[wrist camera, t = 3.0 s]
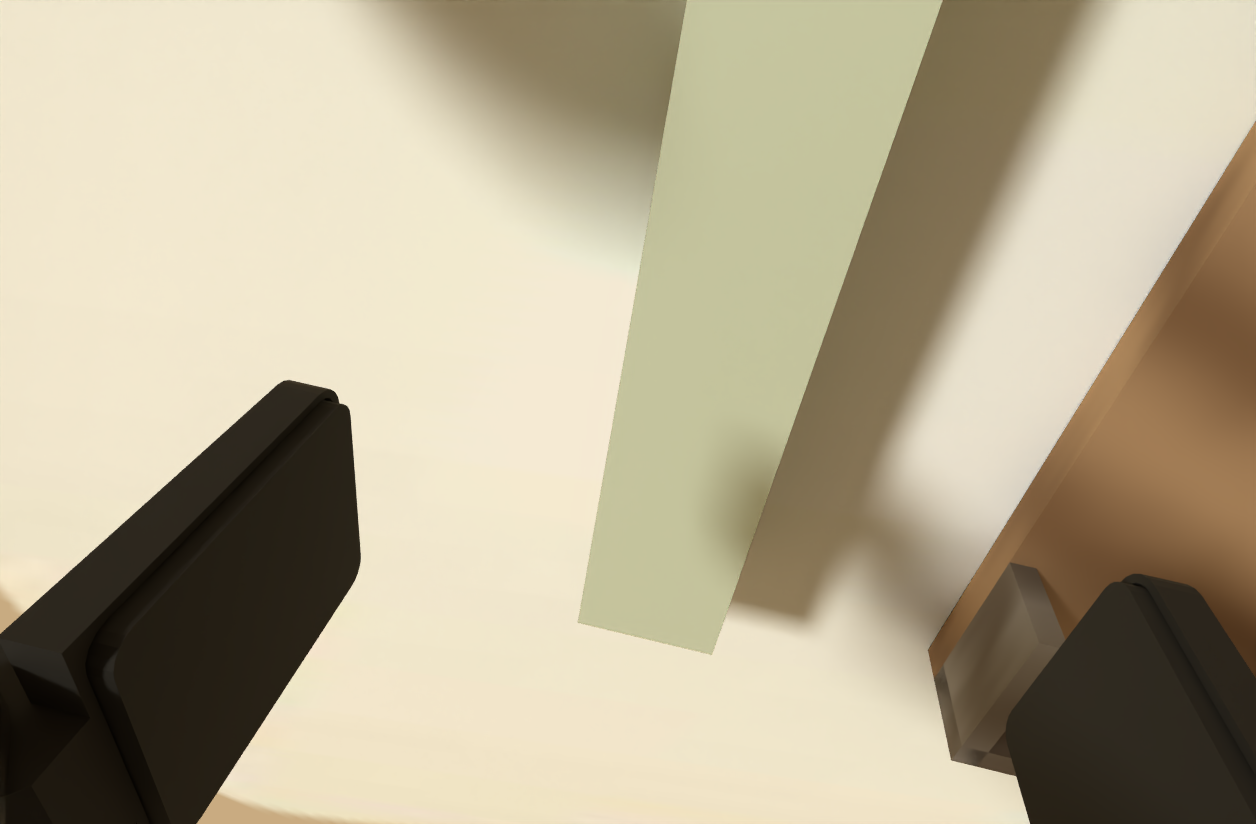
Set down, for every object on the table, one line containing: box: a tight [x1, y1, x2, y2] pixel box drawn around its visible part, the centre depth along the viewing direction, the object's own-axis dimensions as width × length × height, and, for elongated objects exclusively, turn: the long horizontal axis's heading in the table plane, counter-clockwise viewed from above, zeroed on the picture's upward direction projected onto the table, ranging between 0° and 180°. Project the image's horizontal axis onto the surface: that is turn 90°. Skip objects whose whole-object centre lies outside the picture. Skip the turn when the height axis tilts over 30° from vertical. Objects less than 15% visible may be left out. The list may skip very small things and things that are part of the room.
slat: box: [578, 0, 943, 655], centre depth 17 cm, size 22×4×5 cm, turn 171°
